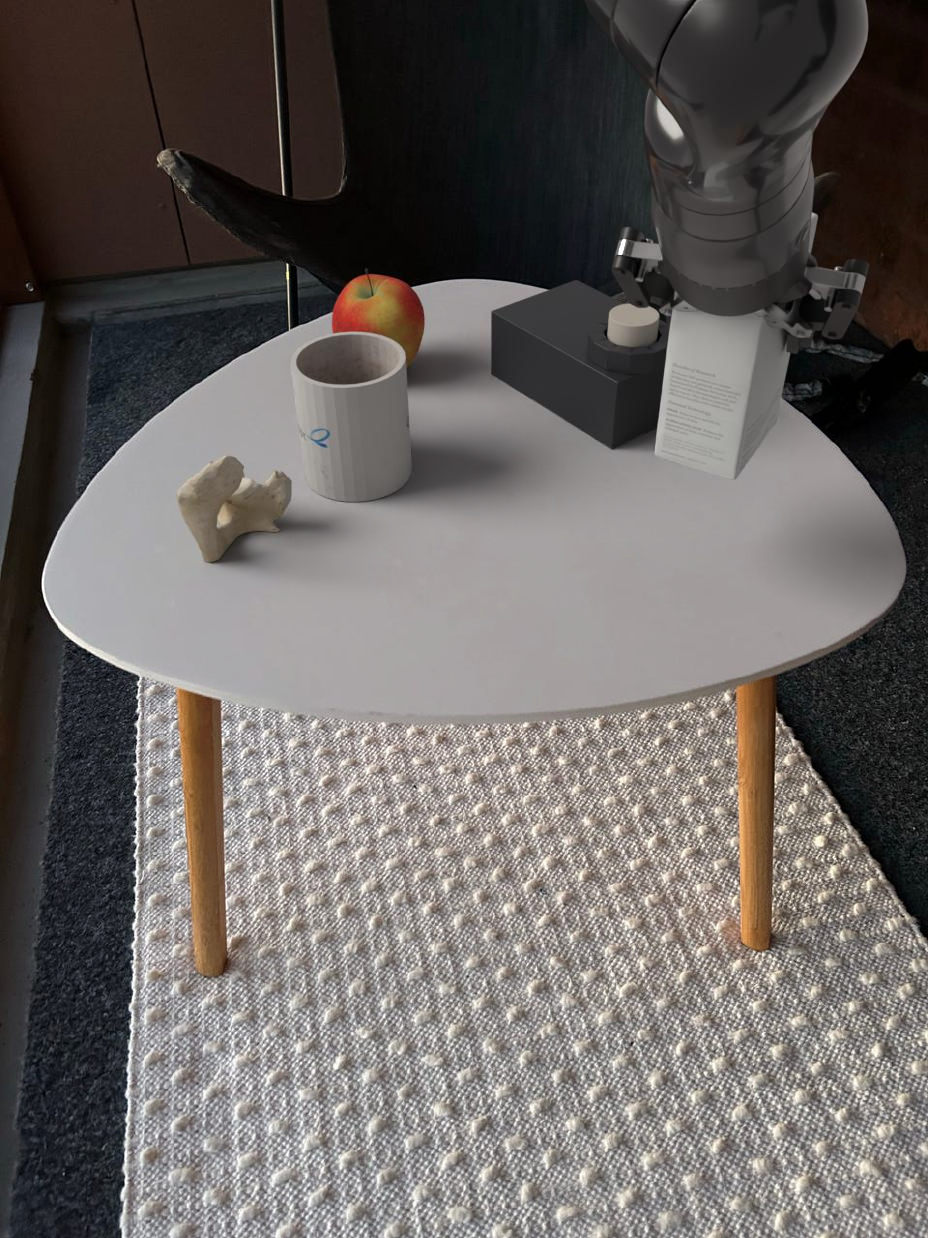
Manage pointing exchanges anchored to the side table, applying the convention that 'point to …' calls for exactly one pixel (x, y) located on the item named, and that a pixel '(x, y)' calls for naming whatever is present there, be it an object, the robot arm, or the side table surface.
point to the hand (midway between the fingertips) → (740, 328)
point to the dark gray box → (579, 362)
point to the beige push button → (633, 325)
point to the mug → (353, 415)
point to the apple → (381, 311)
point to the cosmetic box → (720, 388)
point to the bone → (230, 504)
